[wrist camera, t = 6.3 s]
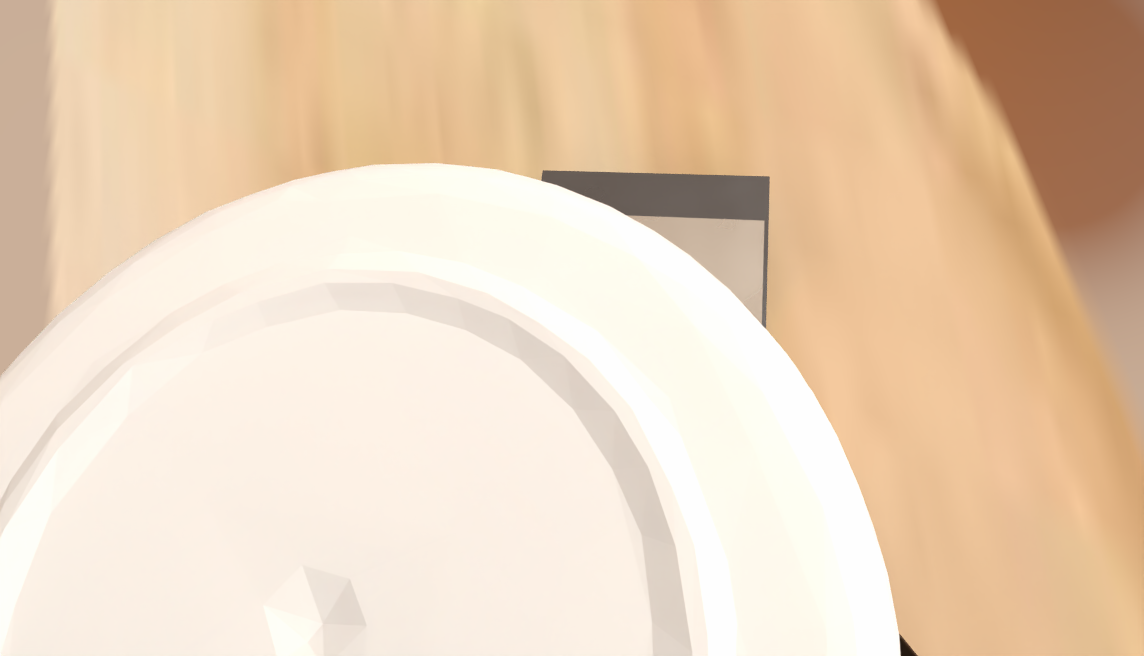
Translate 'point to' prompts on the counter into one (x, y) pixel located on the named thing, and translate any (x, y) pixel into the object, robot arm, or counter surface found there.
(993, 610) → the counter surface
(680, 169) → the counter surface
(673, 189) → the mounting plate
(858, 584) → the sprinkles bottle
